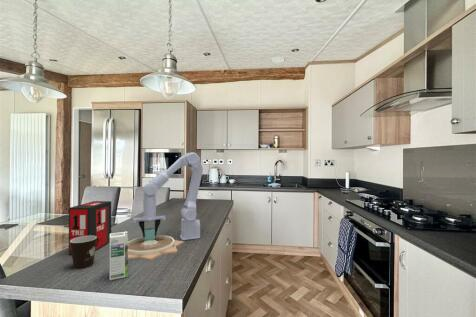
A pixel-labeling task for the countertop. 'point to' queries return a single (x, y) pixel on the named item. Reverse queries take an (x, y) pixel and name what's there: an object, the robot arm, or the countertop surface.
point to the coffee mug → (83, 251)
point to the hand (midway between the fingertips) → (149, 236)
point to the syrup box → (118, 255)
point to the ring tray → (152, 247)
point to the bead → (149, 234)
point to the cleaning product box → (91, 222)
